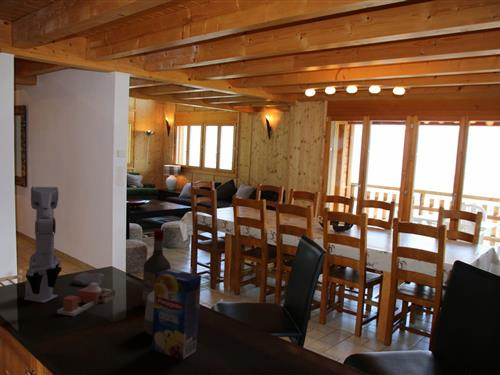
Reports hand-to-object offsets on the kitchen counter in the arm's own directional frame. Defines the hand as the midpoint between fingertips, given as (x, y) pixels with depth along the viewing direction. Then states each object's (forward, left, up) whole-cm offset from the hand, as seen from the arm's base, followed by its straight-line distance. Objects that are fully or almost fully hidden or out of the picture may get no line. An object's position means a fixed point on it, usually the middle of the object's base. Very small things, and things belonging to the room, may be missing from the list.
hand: (43, 290), depth 151 cm
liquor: (+31, +25, -10) cm, 41 cm away
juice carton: (+53, -6, -10) cm, 54 cm away
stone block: (-7, +37, -10) cm, 39 cm away
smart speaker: (+43, +3, -10) cm, 44 cm away
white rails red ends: (+6, +11, -9) cm, 16 cm away
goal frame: (+6, +23, -9) cm, 26 cm away
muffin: (+6, +21, -10) cm, 24 cm away
